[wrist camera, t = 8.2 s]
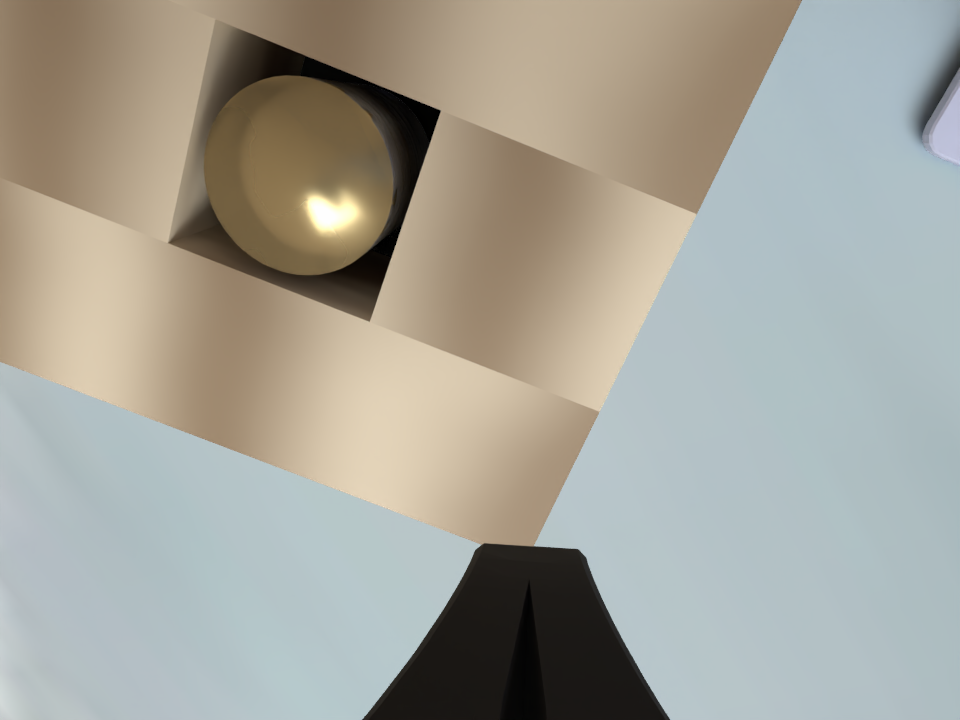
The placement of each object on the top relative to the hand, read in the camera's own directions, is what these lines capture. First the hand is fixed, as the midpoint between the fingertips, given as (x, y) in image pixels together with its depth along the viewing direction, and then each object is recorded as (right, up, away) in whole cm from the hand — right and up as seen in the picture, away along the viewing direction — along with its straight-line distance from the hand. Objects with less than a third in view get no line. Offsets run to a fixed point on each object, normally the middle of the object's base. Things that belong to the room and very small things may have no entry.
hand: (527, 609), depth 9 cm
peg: (-4, +8, +8) cm, 12 cm away
